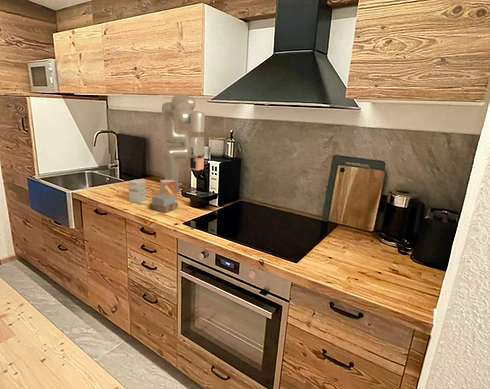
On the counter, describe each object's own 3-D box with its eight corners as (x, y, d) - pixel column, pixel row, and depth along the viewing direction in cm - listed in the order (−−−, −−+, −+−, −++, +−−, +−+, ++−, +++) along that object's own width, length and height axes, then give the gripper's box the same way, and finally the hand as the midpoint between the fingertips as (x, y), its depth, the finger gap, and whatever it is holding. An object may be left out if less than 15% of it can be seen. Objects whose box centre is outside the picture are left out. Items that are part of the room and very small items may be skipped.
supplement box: (128, 201, 180) (128, 181, 177) (135, 198, 187) (135, 179, 184) (139, 203, 179) (139, 183, 176) (146, 200, 186) (146, 180, 183)
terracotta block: (194, 167, 172) (195, 157, 171) (203, 169, 170) (204, 158, 168) (188, 169, 167) (189, 158, 165) (197, 170, 165) (198, 159, 163)
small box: (163, 203, 183) (163, 182, 179) (159, 200, 188) (159, 180, 184) (175, 201, 187) (175, 181, 184) (172, 198, 192) (172, 179, 189)
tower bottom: (162, 205, 179) (162, 199, 178) (177, 209, 175) (177, 202, 174) (149, 210, 170) (149, 203, 168) (165, 214, 165) (165, 207, 164)
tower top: (163, 199, 177) (163, 193, 176) (175, 202, 173) (175, 196, 172) (152, 203, 170) (152, 196, 169) (163, 206, 166) (163, 199, 165)
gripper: (199, 133, 172) (198, 164, 177) (182, 135, 157) (181, 168, 162) (211, 135, 170) (209, 166, 175) (194, 136, 154) (193, 170, 159)
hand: (196, 167), depth 168 cm, fingers closed on terracotta block, 6 cm apart
